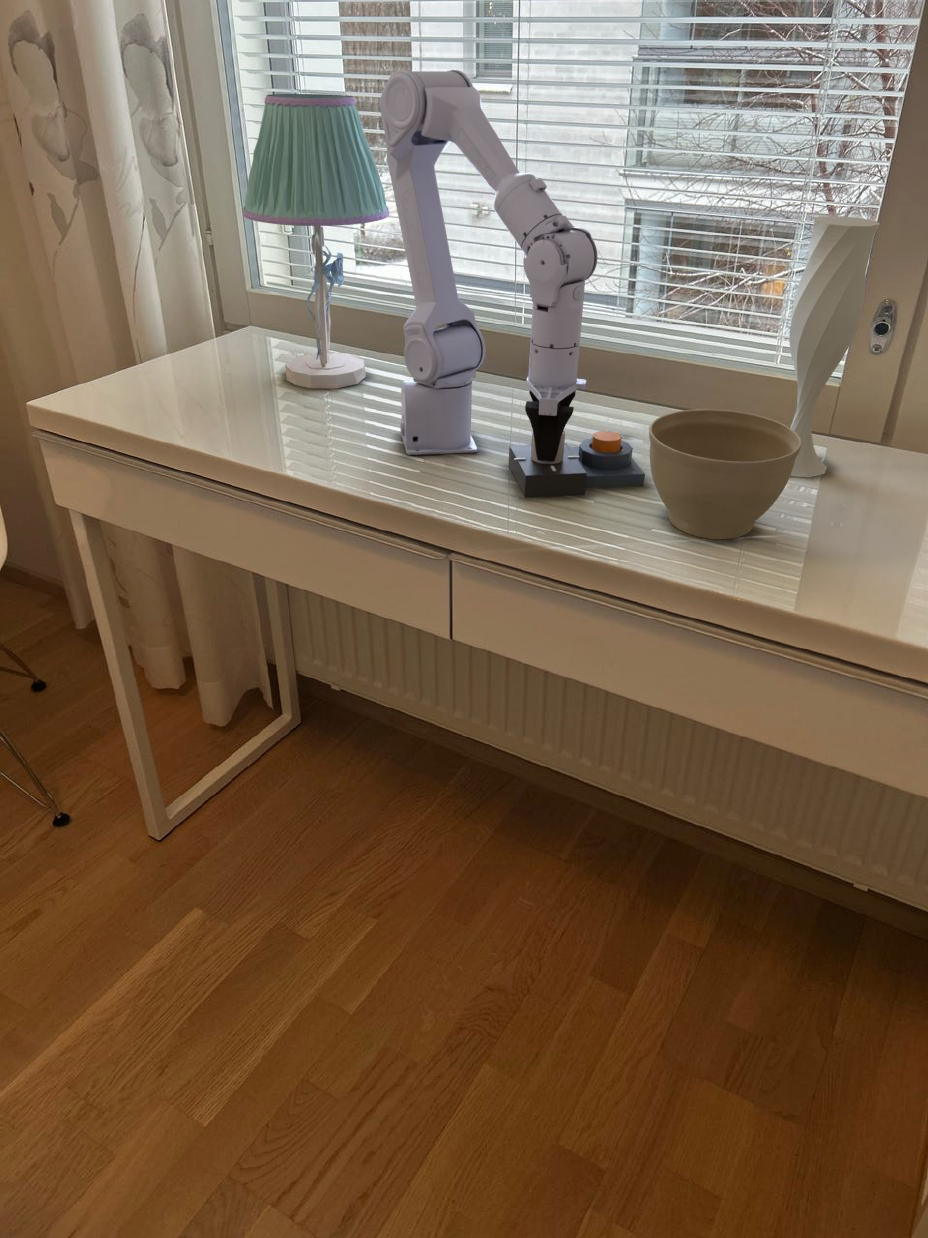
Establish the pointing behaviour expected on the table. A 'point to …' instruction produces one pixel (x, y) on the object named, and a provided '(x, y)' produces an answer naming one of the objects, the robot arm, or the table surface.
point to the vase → (826, 317)
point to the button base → (609, 466)
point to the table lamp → (316, 203)
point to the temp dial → (558, 457)
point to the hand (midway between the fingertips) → (547, 453)
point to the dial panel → (546, 474)
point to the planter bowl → (720, 468)
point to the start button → (606, 442)
